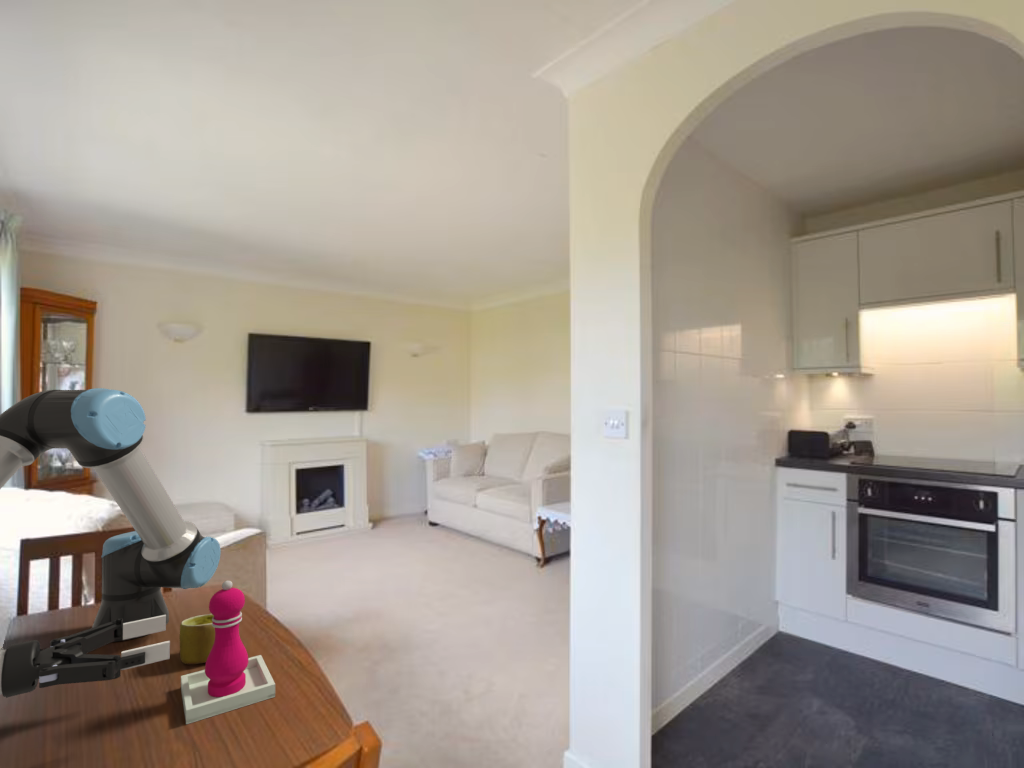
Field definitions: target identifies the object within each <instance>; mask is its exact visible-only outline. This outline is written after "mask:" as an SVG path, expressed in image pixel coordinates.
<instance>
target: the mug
mask: <svg viewBox="0 0 1024 768" xmlns="http://www.w3.org/2000/svg"><path fill="white" fill-rule="evenodd" d="M213 617H214V615H212V614H211V613H209V614H202V615H200V614H199V615H196V616H191V617H188V618H186V619H183V620H182V621H181V623H180V626H179V657H180V661H181V662H182V663H183V664H184V665H197V664H203V663H206V661H207V658H208V656H209V654H210V652H211V649H212V647H213V645H214V641H215V627H213V626H212V623H213V621H212V618H213Z"/></svg>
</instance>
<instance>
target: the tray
mask: <svg viewBox="0 0 1024 768" xmlns="http://www.w3.org/2000/svg"><path fill="white" fill-rule="evenodd" d="M243 672H244V673H245V675H246V683H245V686H244V687H243V688H242V689H241V690H240V691H238V692H236V693H234V694H231V695H228V696H223V697H213V696H210V695H209V694H208V682H209V680H210V679H209V678H208V677H207V676H206V674H205V669H202V670H199V671H195V672H191V673H187V674H184V675H180V691H181V693H180V694H181V699H182V704H183V712H184V719H185V725H189V724H193V723H195V722H199V721H201V720H205V719H208V718H211V717H215V716H218V715H221V714H224V713H225V714H226V713H227V712H230V711H234V710H237V709H241V708H243V707H246V706H249V705H253V704H256V703H261V702H262V701H263V702H264V701H265V700H269V699H272V698H275V697H276V683H275V680H274V678H273V676H272V674H271V673H270V670H269V668H268V667H267V664H266V662H265V660H264V658H263V656H262V654H259V655H255V656H251V657H248V665H247V667H246V669H245V670H244V671H243Z"/></svg>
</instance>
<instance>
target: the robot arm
mask: <svg viewBox="0 0 1024 768" xmlns="http://www.w3.org/2000/svg"><path fill="white" fill-rule="evenodd" d="M146 419H147V418H146V413H145V411H144V409H143V406H142V405H141V404H140V402H139V401H138V400H137V398H135V397H134V396H133V395H131V394H129V393H127V392H125V391H121V390H118V389H109V388H105V387H103V388H102V387H100V388H98V387H97V388H91V389H90V388H89V389H48V390H47V389H46V390H42V391H40V392H36V393H34V394H31V395H29V396H27V397H24V398H23V399H21V400H19V401H18V402H16V403H14V404H13V405H11V406H10V407H8V408H7V409H6V410H5V411H3V412H2V413H0V490H1V489H2V488H3V487H4V486H5V485H6V484H7V482H8V481H9V480H10V479H11V478H12V477H13V476H14V475H15V474H16V473H17V471H19V469H20V468H21V467H26V466H30V465H32V464H33V463H34V462H35V461H36V460H37V459H38V458H39V457H40V456H41V455H43V454H44V453H46V452H47V451H49V450H50V451H51V450H52V449H63V450H64V449H67V450H68V451H69V452H70V454H71V455H72V457H73V458H74V459H75V461H76V463H78V465H79V466H80V467H83V468H85V469H93V470H94V472H95V473H96V474H97V477H99V479H100V480H101V482H102V483H103V485H104V487H105V488H106V489H107V491H108V492H109V493H110V495H111V497H112V499H114V501H115V503H116V504H117V506H118V507H119V509H120V511H121V512H122V513H123V515H124V516H125V518H126V519H127V521H128V522H129V523H130V525H131V526H132V528H133V529H134V531H129V532H125V533H120V534H117V535H113V536H111V537H109V538H108V539H106V540H104V543H103V545H102V555H101V603H100V605H99V608H98V611H97V613H96V616H95V619H94V621H93V623H92V627H91V628H88V629H85V630H81V631H79V632H76V633H72V634H70V635H65V636H61V637H59V638H53V639H51V640H50V642H49V645H50V646H49V647H47V648H44V649H43V648H42V649H41V643H40V641H39V640H37V639H33V640H28V641H23V642H17V643H14V644H13V643H12V644H9V646H7V647H6V649H4V647H2V646H1V645H0V696H1V695H2V697H4V698H6V699H7V698H11V697H15V696H19V695H23V694H27V693H31V692H33V691H34V690H35V689H36V688H37V686H38V687H39V688H40V689H43V688H49V687H54V686H58V685H59V686H60V685H66V684H67V685H69V684H71V685H72V684H80V683H93V682H104V681H111V680H115V679H118V678H121V671H124V670H125V671H126V670H129V669H134V668H137V667H141V666H146V665H149V664H153V663H157V662H162V661H165V660H170V656H171V655H170V653H171V652H170V650H171V649H170V648H171V640H166V641H162V642H158V643H154V644H153V643H152V644H148V645H145V646H140V647H136V648H132V649H128V650H127V649H126V650H123V651H121V655H120V654H95V653H94V654H92V653H90V652H93V651H95V650H97V649H99V648H100V649H101V648H102V647H104V646H106V645H108V644H111V643H114V642H123V641H127V640H132V639H137V638H141V637H144V636H147V635H151V634H156V633H159V632H164V631H166V630H167V625H168V623H169V620H170V612H169V608H168V606H167V604H166V601H165V599H164V596H163V594H162V589H161V588H168V589H169V588H170V589H182V590H188V589H197V588H201V587H203V586H204V585H206V584H207V583H208V582H209V581H210V580H211V579H212V578H213V576H214V574H215V573H216V571H217V569H218V567H219V563H220V559H221V552H222V551H221V549H222V548H221V545H220V543H219V541H218V540H217V539H216V538H215V537H212V536H202V534H201V532H200V530H199V529H198V527H197V526H196V525H195V524H194V523H193V522H192V521H186V520H185V521H184V519H183V517H182V516H181V513H179V510H178V508H177V507H176V506H175V504H174V502H173V500H172V499H171V497H170V495H169V494H168V492H167V490H166V488H165V487H164V486H163V483H162V482H161V480H160V479H159V477H158V475H157V474H156V472H155V470H154V469H153V466H152V465H151V464H150V462H149V460H148V459H147V457H146V456H145V453H144V452H143V450H142V449H141V446H142V444H143V442H144V435H143V434H144V433H145V431H146V424H144V422H145V421H147V420H146Z"/></svg>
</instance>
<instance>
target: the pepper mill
mask: <svg viewBox="0 0 1024 768" xmlns="http://www.w3.org/2000/svg"><path fill="white" fill-rule="evenodd" d="M221 588H222V589H220V590H218V591H216V592H215V593H213V595H211V598H210V600H209V602H208V603H209V604H208V610H209V612H210V614H212V615H214V617H213V618H212V621H213V623H212V626H213V627H215V641H214V645H213V647H212V649H211V652H210V654H209V656H208V658H207V661H206V662H205V666H204V670H205V674H206V676H207V677H208V678H209V679H210V680H209V682H208V694H209V695H210V696H213V697H223V696H228V695H231V694H234V693H236V692H238V691H240V690H241V689H242V688H243V687H244V686H245V683H246V675H245V673H244V672H243V671H244V670H245V669H246V667H247V665H248V658H249V654H248V651H247V648H246V647H245V645H244V643H243V641H242V639H241V636H240V629H239V628H240V622H242V620H243V617H242V616H243V613H242V609H243V608H244V606H245V604H246V603H245V602H246V597H245V594H244V593H243V591H242V590H241V589H239V588H237V587H233V582H232V581H231V580H225V581H224V582H223V583H222V584H221Z"/></svg>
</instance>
